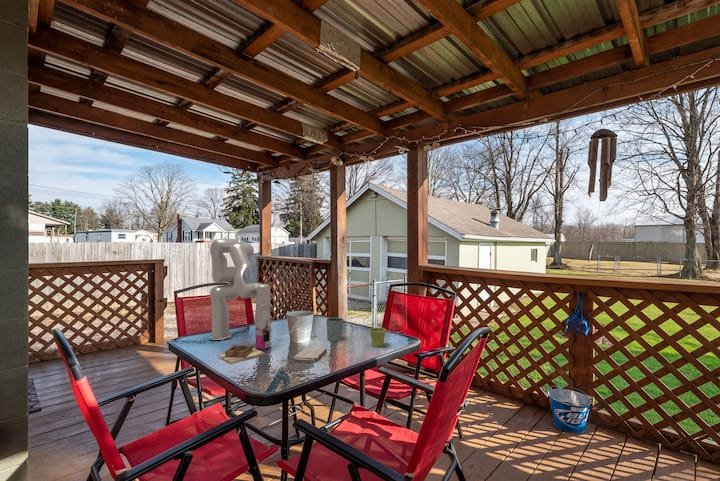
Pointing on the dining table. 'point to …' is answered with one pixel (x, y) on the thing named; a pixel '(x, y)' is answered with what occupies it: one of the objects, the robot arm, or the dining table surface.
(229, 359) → the collar holder
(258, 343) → the supplement box
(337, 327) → the grey green embossed cup
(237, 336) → the dining table surface
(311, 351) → the washcloth
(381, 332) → the plant pot
